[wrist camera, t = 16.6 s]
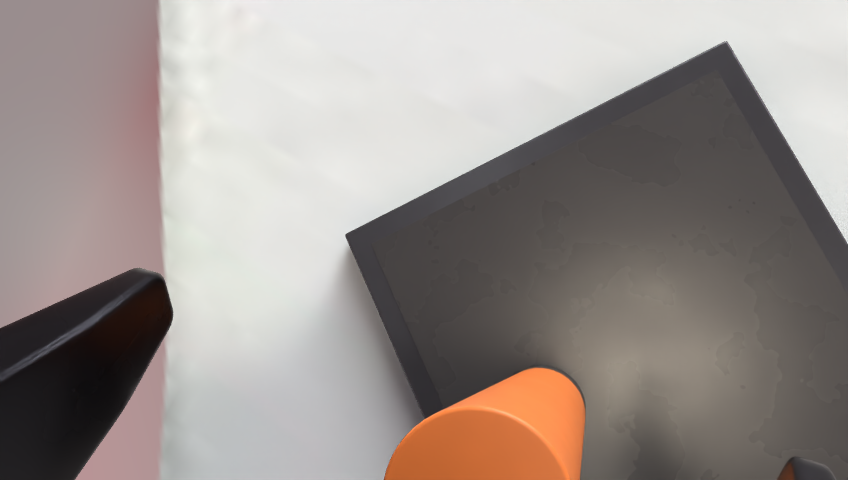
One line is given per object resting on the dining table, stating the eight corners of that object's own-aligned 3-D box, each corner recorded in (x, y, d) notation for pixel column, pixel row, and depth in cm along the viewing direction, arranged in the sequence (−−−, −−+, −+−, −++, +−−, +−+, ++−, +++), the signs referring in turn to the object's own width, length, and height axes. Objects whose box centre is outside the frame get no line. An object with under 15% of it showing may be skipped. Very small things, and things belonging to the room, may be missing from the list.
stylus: (525, 463, 21) (429, 643, 9) (489, 387, 22) (349, 454, 9) (600, 428, 21) (613, 564, 8) (561, 351, 22) (518, 373, 9)
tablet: (1119, 720, 18) (1144, 739, 17) (634, 885, 20) (635, 908, 19) (722, 49, 22) (727, 38, 22) (351, 237, 24) (343, 234, 24)
